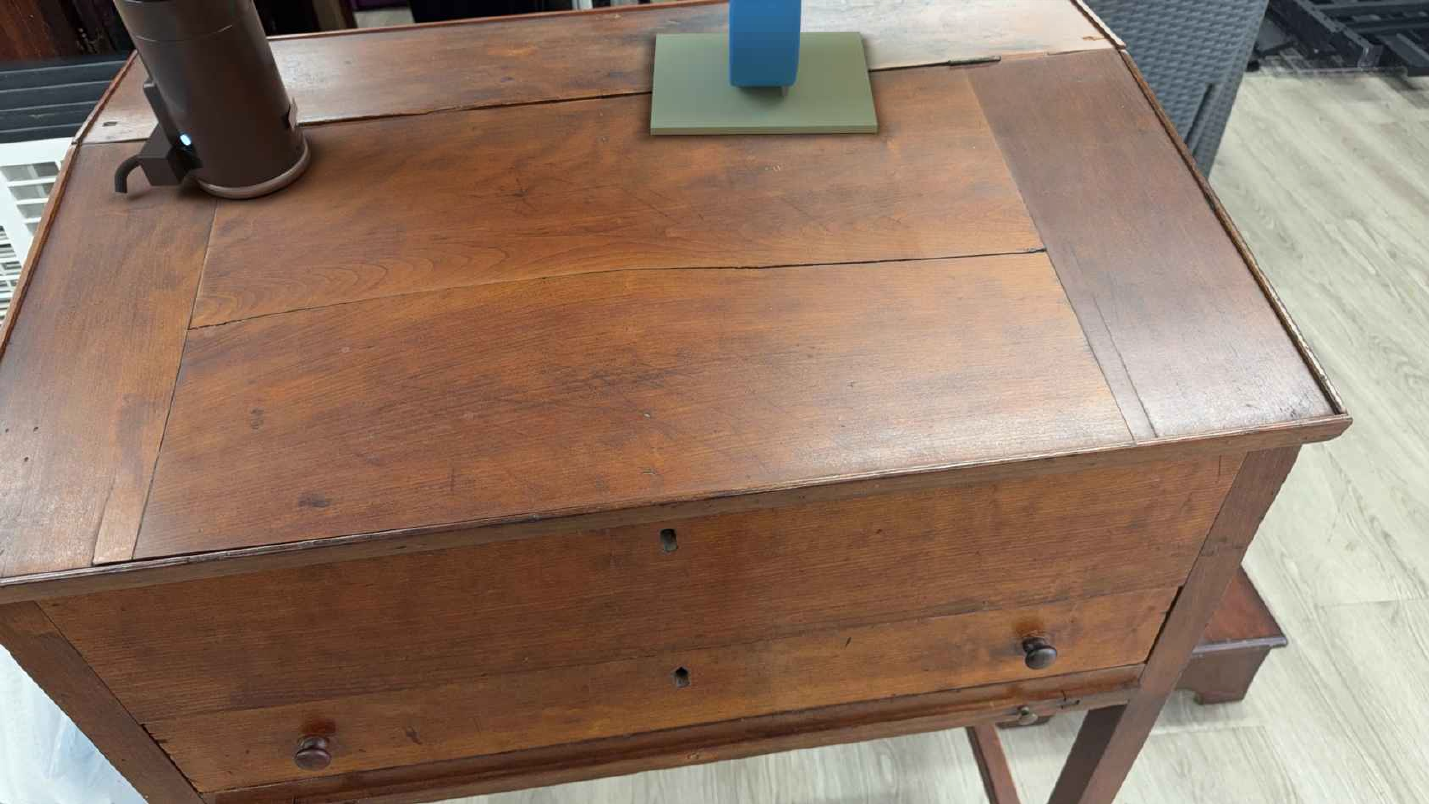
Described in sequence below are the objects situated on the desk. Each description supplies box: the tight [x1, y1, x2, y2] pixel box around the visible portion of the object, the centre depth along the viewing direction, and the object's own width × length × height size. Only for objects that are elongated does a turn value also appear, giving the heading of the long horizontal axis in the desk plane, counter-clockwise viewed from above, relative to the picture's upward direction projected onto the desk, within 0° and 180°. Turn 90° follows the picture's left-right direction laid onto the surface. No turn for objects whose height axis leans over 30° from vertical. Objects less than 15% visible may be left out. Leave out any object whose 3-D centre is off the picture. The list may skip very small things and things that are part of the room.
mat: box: [650, 31, 879, 136], centre depth 95 cm, size 20×16×1 cm
